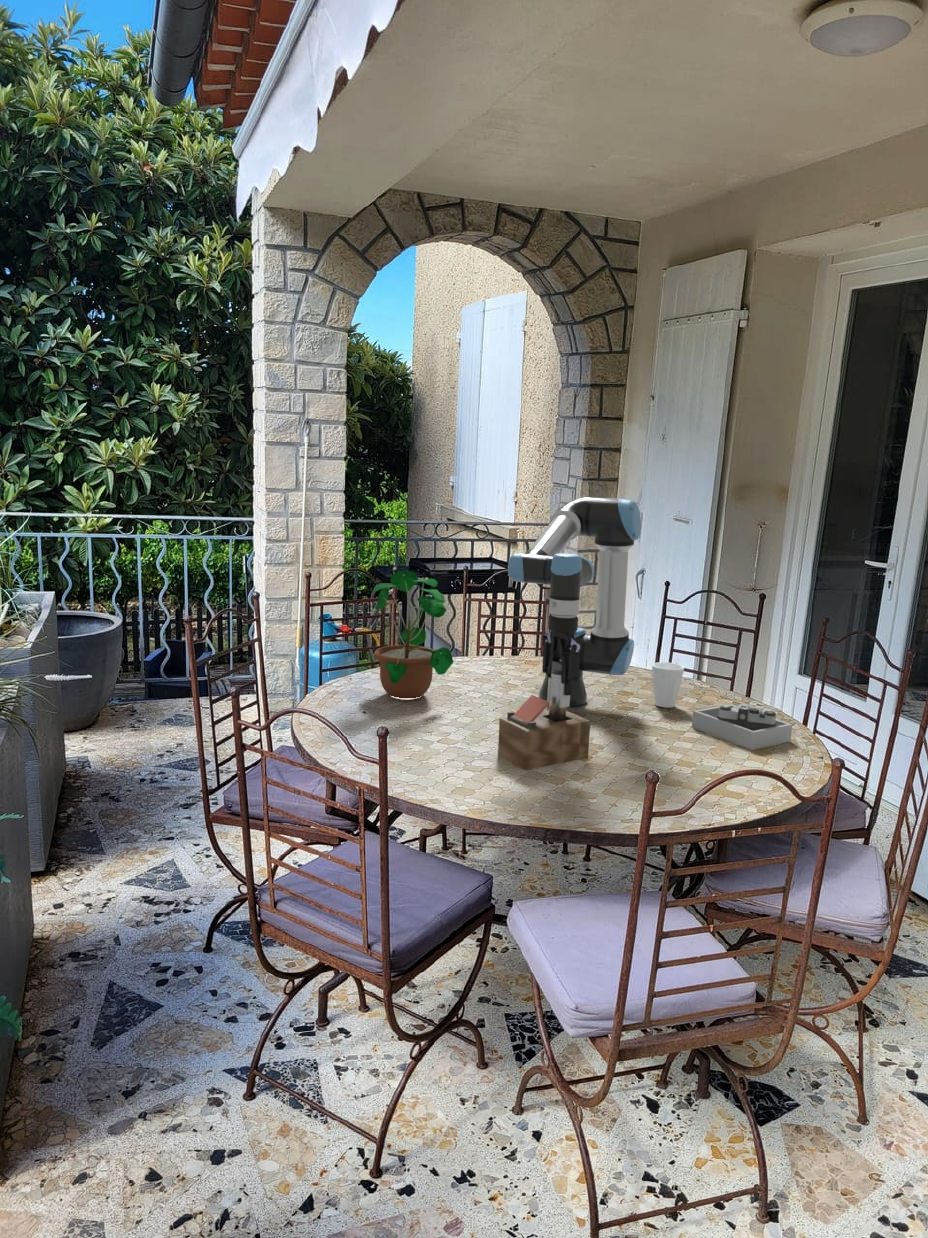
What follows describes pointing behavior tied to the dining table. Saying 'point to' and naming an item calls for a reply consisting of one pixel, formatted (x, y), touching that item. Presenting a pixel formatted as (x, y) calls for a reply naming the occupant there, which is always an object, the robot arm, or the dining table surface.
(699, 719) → the camera corral
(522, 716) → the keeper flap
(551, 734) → the block
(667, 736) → the dining table surface
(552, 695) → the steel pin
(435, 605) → the potted plant
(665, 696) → the cup
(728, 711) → the camera
